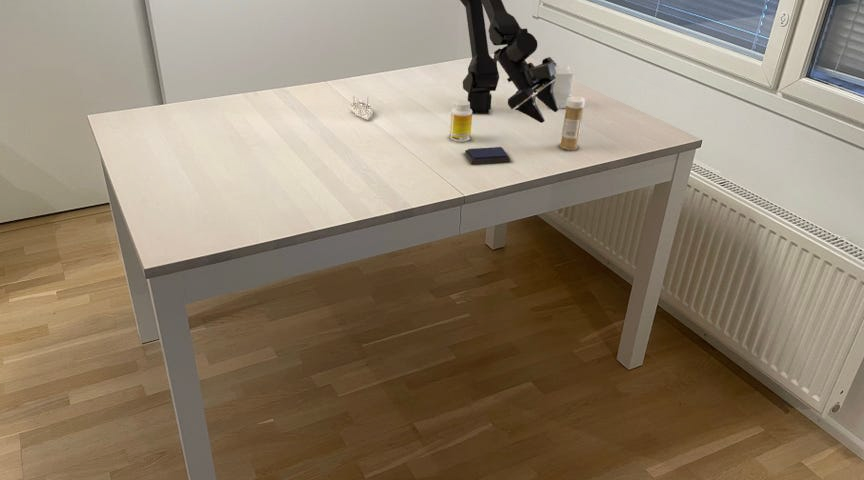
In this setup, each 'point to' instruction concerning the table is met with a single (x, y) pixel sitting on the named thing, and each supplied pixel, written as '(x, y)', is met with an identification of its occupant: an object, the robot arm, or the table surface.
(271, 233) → the table surface
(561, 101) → the small box
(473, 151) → the ink pad
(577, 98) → the sprinkles bottle
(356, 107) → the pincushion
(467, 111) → the supplement bottle
